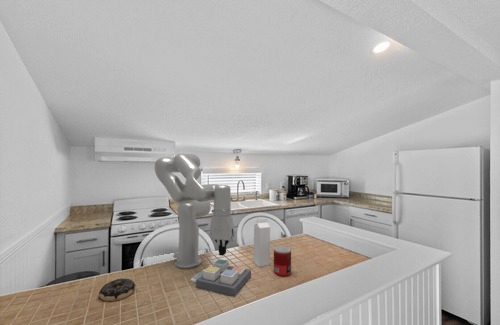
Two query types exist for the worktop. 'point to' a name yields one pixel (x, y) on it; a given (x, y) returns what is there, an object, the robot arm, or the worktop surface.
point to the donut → (117, 289)
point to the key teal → (221, 265)
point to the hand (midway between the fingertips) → (222, 254)
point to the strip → (197, 276)
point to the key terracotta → (239, 271)
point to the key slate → (229, 277)
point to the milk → (262, 243)
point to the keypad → (224, 288)
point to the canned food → (282, 261)
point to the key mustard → (211, 273)
